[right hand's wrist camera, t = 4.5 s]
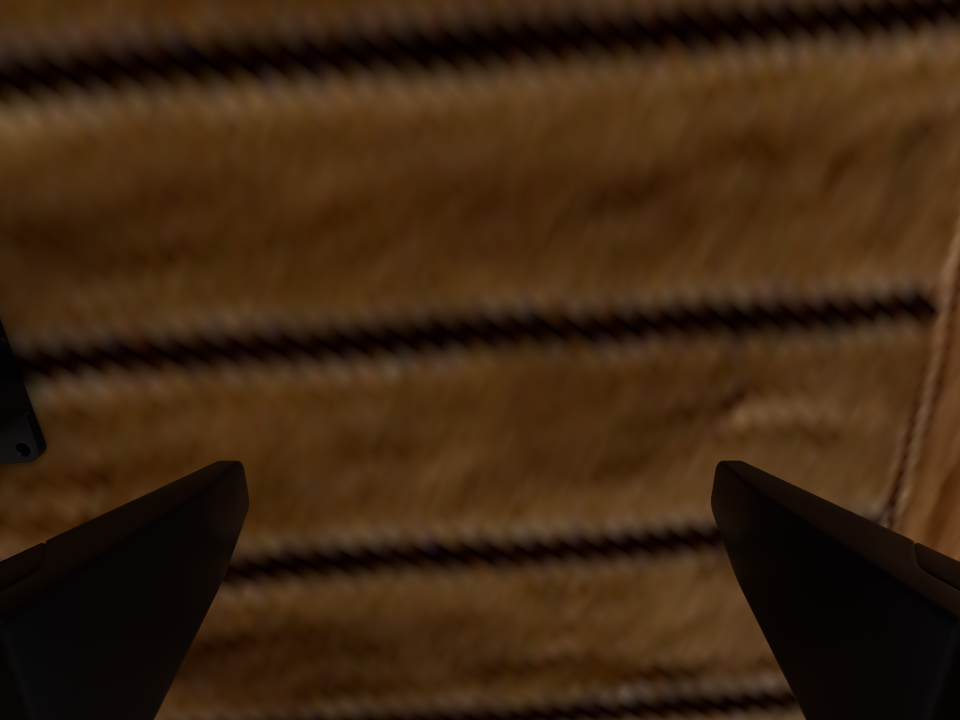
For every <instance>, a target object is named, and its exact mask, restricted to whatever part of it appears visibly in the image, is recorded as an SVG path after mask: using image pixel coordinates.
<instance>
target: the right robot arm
mask: <svg viewBox="0 0 960 720" xmlns="http://www.w3.org/2000/svg"><path fill="white" fill-rule="evenodd" d="M24 443H25V444H27V445H28V446H29V447H30V448H31V450H30V449H28V448H27V447H26V446H25V444H24ZM45 450H46V443H45V440H44V437H43V435H42V432H41V429H40V426H39V424H38V421H37V418H36V416H35V413H34V410H33V407H32V405H31V402H30V399H29V397H28V394H27V391H26V388H25V386H24V383H23V380H22V378H21V375H20V372H19V369H18V367H17V364H16V361H15V359H14V356H13V353H12V350H11V348H10V345H9V342H8V340H7V337H6V334H5V331H4V329H3V326H2V323H1V321H0V464H7V463H22V462H31V461H34V460H35V459H37V458H38V457H39V456H41V455H42V454H43V453H44V452H45ZM248 507H249V496H248V490H247V483H246V477H245V471H244V467H243V465H242V463H241V462H240V461H217V462H215V463H213V464H211V465H209V466H206V467H204V468H202V469H200V470H198V471H196V472H193V473H191V474H189V475H187V476H185V477H183V478H181V479H178V480H176V481H174V482H172V483H170V484H168V485H165V486H163V487H161V488H159V489H157V490H155V491H153V492H150V493H148V494H146V495H144V496H142V497H140V498H137V499H135V500H133V501H131V502H129V503H127V504H125V505H122V506H120V507H118V508H116V509H114V510H112V511H109V512H107V513H105V514H103V515H101V516H99V517H97V518H94V519H92V520H90V521H88V522H86V523H84V524H81V525H79V526H77V527H75V528H73V529H71V530H68V531H66V532H64V533H62V534H60V535H58V536H56V537H53V538H51V539H49V540H47V541H46V543H45V544H44V543H40V544H38V545H36V546H34V547H32V548H29V549H27V550H25V551H23V552H21V553H19V554H16V555H14V556H12V557H10V558H7V559H5V560H3V561H1V562H0V720H154V719H155V717H156V715H157V713H158V711H159V709H160V706H161V704H162V702H163V700H164V698H165V696H166V694H167V692H168V690H169V688H170V686H171V684H172V682H173V680H174V678H175V676H176V674H177V672H178V670H179V668H180V666H181V664H182V662H183V660H184V658H185V656H186V654H187V652H188V650H189V648H190V646H191V644H192V642H193V640H194V638H195V636H196V634H197V632H198V630H199V628H200V626H201V624H202V622H203V620H204V618H205V616H206V614H207V612H208V609H209V607H210V605H211V603H212V601H213V599H214V597H215V595H216V593H217V591H218V589H219V587H220V585H221V583H222V581H223V578H224V576H225V573H226V571H227V568H228V565H229V562H230V560H231V557H232V554H233V551H234V548H235V546H236V543H237V540H238V537H239V534H240V532H241V529H242V526H243V523H244V520H245V517H246V515H247V512H248ZM711 507H712V512H713V515H714V517H715V520H716V523H717V526H718V529H719V532H720V534H721V537H722V540H723V543H724V546H725V548H726V551H727V554H728V557H729V560H730V562H731V565H732V568H733V571H734V573H735V576H736V578H737V581H738V583H739V585H740V587H741V589H742V591H743V593H744V595H745V597H746V599H747V601H748V603H749V605H750V607H751V609H752V612H753V614H754V616H755V618H756V620H757V622H758V624H759V626H760V628H761V630H762V632H763V634H764V636H765V638H766V640H767V642H768V644H769V646H770V648H771V650H772V652H773V654H774V656H775V658H776V660H777V662H778V664H779V666H780V668H781V670H782V672H783V674H784V676H785V678H786V680H787V682H788V684H789V686H790V688H791V690H792V692H793V694H794V696H795V698H796V700H797V702H798V704H799V706H800V709H801V711H802V713H803V715H804V717H805V719H806V720H960V562H959V561H957V560H955V559H953V558H950V557H948V556H946V555H944V554H941V553H939V552H937V551H935V550H933V549H931V548H928V547H926V546H924V545H922V544H920V543H916V544H915V543H914V541H913V540H911V539H909V538H907V537H904V536H902V535H900V534H898V533H896V532H894V531H892V530H889V529H887V528H885V527H883V526H881V525H879V524H876V523H874V522H872V521H870V520H868V519H866V518H863V517H861V516H859V515H857V514H855V513H853V512H851V511H848V510H846V509H844V508H842V507H840V506H838V505H835V504H833V503H831V502H829V501H827V500H825V499H823V498H820V497H818V496H816V495H814V494H812V493H810V492H807V491H805V490H803V489H801V488H799V487H797V486H795V485H792V484H790V483H788V482H786V481H784V480H782V479H779V478H777V477H775V476H773V475H771V474H769V473H767V472H764V471H762V470H760V469H758V468H756V467H754V466H751V465H749V464H747V463H745V462H743V461H720V462H719V463H718V465H717V467H716V471H715V477H714V483H713V490H712V496H711Z"/></svg>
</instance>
